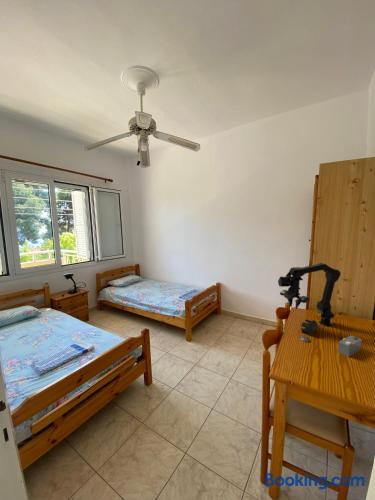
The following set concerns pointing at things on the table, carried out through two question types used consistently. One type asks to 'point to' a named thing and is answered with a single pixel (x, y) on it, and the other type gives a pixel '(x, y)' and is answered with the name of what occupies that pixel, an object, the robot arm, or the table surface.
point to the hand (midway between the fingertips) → (293, 307)
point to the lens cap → (304, 339)
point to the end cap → (309, 327)
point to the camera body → (349, 345)
